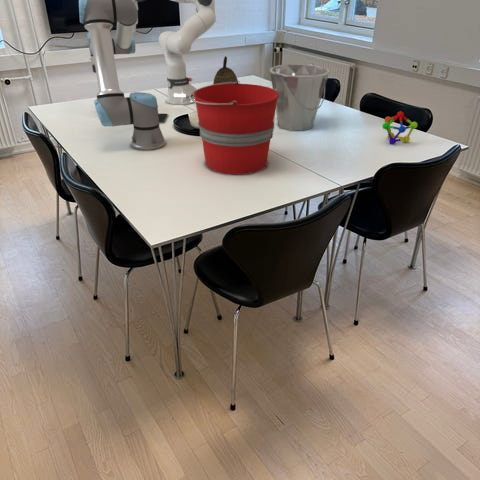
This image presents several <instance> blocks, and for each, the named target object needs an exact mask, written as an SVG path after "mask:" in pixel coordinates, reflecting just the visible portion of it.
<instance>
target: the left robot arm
mask: <svg viewBox="0 0 480 480" xmlns="http://www.w3.org/2000/svg"><path fill="white" fill-rule="evenodd" d="M78 11H79V13H78V14H79V15H78V16H79V23H80V24H82V25H83V26H84V29H85V30H86V31H87V32H88V33H87V34H86V35H87V43H88V44H87V45H88V48H89V49H88V50H89V55H90V58H89V60H90V61H91V69H92V73H94V74H96V79H97V85H98V92H97V93H98V94H97V93H96V98H95V99H94V101H93V103H94V106H95V111H96V113H97V116H98V119H99V122H100V124H101V126H103V127H118V126H119V127H120V126H129V125H130V126H131V125H133V132H132V135H131V142H130V143H131V147H132V148H134V149H135V150H141V151H151V150H153V151H154V150H157V149H161V148H163V147H164V146H165V144H166V140H165V137H164V135H163V132H162V130H161V127H160V123H159V117H158V114H159V105H158V100H157V99H158V98H157V96H155V94H153V93H148V92H141V91H135V92H130V93H129V95H128V96H127V97H125V93H124V92H123V91H122V90H121V89H120V83H119V77H118V71H117V65H116V59H115V55H130V54H135V53H136V42H135V39H134V36H133V35H134V32H133V29H134V24H135V23H136V21H137V18H138V19H139V12H138V11H139V10H137V8H136V5H135V4H134V2H133V1H132V0H78ZM113 23H116V32H115V33H116V36H115V38H114V37H112V36H111V30H112V29H113V27H114V25H113Z"/></svg>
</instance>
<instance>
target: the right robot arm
mask: <svg viewBox="0 0 480 480" xmlns="http://www.w3.org/2000/svg"><path fill="white" fill-rule="evenodd" d="M132 1H133V2H134V4H135V5H136V8H137V11H139V5H138V3H139V2H144V1H145V0H132ZM170 1H172V2H176V3H179V4H193V5H195V7H196V8H195V11H196V13H194V14H193V15H192V16H191V17H189V18H188V19H187V20H185V21H184V22H183V23H182V26H181V27H180V29H179V30H178V31H172V30H167V31H163V32H161V33H160V35H159V36H158V44H159V46H160V48H161V49H162V50H161V51H162V53H163V55H164V60H165V65H166V73H167V77H166V79H167V80H166V84H167V98H166V103H168V104H170V105H183V106H184V105H185V106H186V105H191V104H196V102H194V101H193V102H190V101H191V99H193V100H194V99H195V98H194V96H193V94H194V93H193V94H192V95H191V99H190V94H191V93H192V92H193V91H195V90H197V89H198V88H197V87H195V86H194V85H193V84H191V83H190V82H192V81H193V78H192V77H187V68H186V67H187V65H186V61H185V60H184V58H183V55H186V54H188V53H189V52H190V51H191V49H192V45H193V44H194V43H195V41H197V39H199V38H200V37H201V36H203V35H204V34H206V32H208V31H209V30H210V29H211V28H212V27H213V26H214V25H215V23H216V21H217V16H216V12H215V11H216V10H215V9H216V6H215V5H216V2H215V0H170ZM138 23H139V17H138V18H137V21H136V23H135V24H134V29H133V33H136V32H137V25H138ZM323 93H324V91H323Z"/></svg>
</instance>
